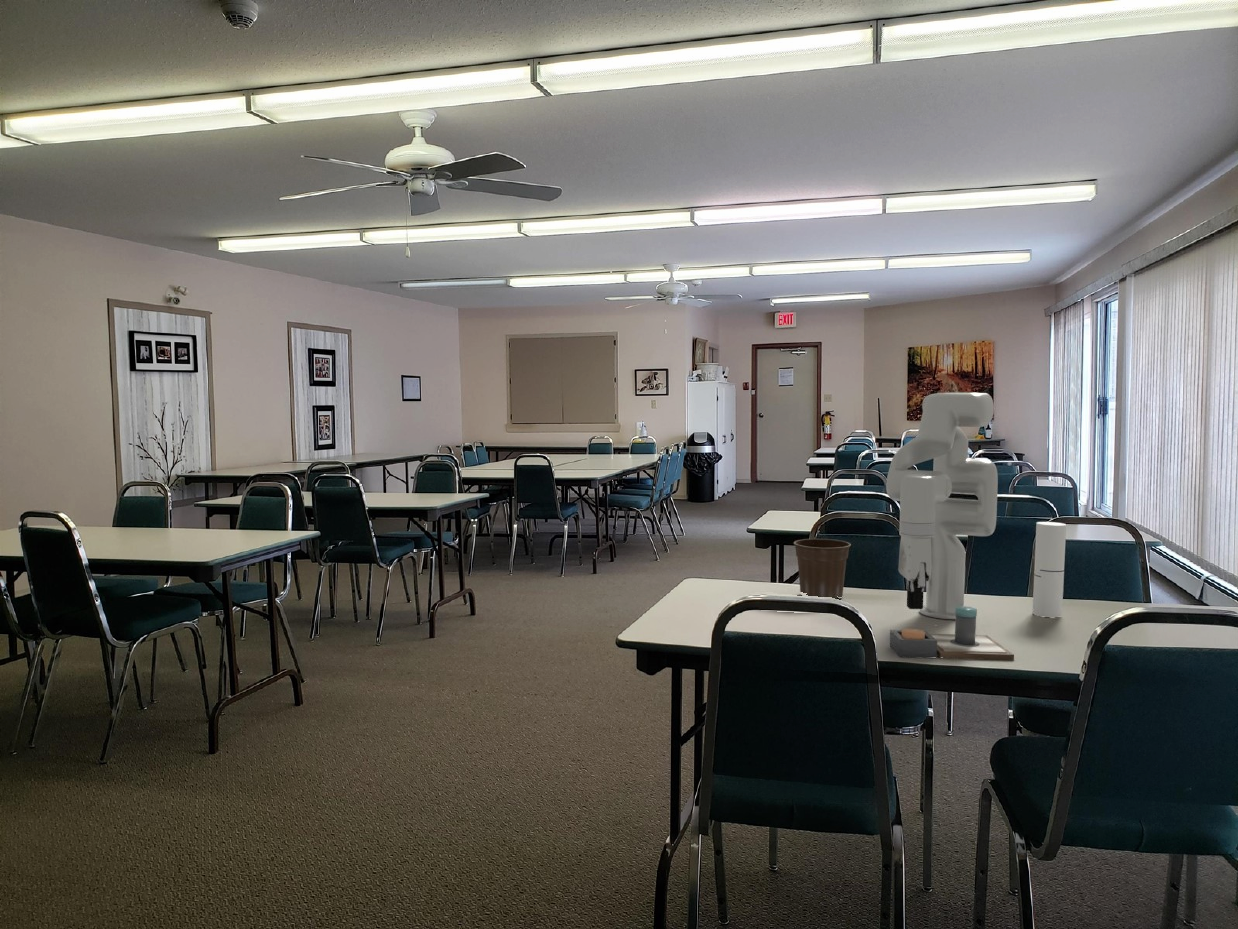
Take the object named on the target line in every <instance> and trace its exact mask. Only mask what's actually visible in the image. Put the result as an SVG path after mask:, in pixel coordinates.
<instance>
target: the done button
mask: <svg viewBox="0 0 1238 929" xmlns="http://www.w3.org/2000/svg"><path fill="white" fill-rule="evenodd" d="M901 630H902V637H903V638H911V639H925V632H924V631H925V630H922V629H918V628H903V629H901Z"/></svg>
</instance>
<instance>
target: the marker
mask: <svg viewBox="0 0 1238 929" xmlns="http://www.w3.org/2000/svg"><path fill="white" fill-rule="evenodd" d="M977 613H978V609H977V608H976V607H972V606H967V605H965V606H958V607H956V608H955V615H956V619H954V620H955V621H954V622H955V625H954V626H955V627H954V634H955V643H958V644H962V645H974V644H975V635H977V634H976V633H977V632H976V631H977V629H976V628H977V625H976V624H977V616H978V614H977Z"/></svg>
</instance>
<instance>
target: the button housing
mask: <svg viewBox="0 0 1238 929" xmlns="http://www.w3.org/2000/svg"><path fill="white" fill-rule="evenodd" d="M923 631H924V632H925V639H911V638H903V637H902V629H889V648H890V649H891V650H892V651H893V652H894V653H895V655H896V656H897V657H899V658H911V657H937V656H938V655H937V640H936V639H935V638H934V637H933V636H931V635H930V634H931V633H929V632H928V631H927V630H923ZM937 658H938V657H937Z"/></svg>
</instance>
